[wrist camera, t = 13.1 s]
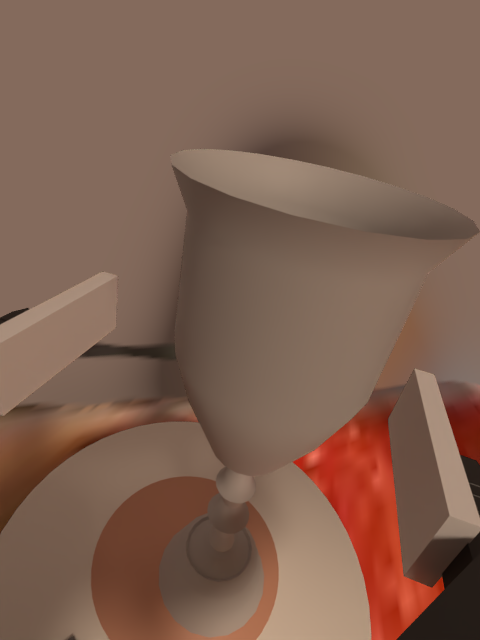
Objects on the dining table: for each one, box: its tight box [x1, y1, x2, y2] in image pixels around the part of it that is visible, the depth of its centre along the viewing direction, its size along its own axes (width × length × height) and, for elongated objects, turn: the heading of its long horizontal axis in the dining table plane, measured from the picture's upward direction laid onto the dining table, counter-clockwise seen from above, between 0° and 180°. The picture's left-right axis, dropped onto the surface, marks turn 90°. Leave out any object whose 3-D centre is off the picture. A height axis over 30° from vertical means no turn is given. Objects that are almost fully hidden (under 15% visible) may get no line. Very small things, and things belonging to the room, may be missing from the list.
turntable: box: [0, 422, 371, 640], centre depth 19 cm, size 18×18×2 cm
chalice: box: [159, 149, 480, 637], centre depth 13 cm, size 7×7×18 cm
